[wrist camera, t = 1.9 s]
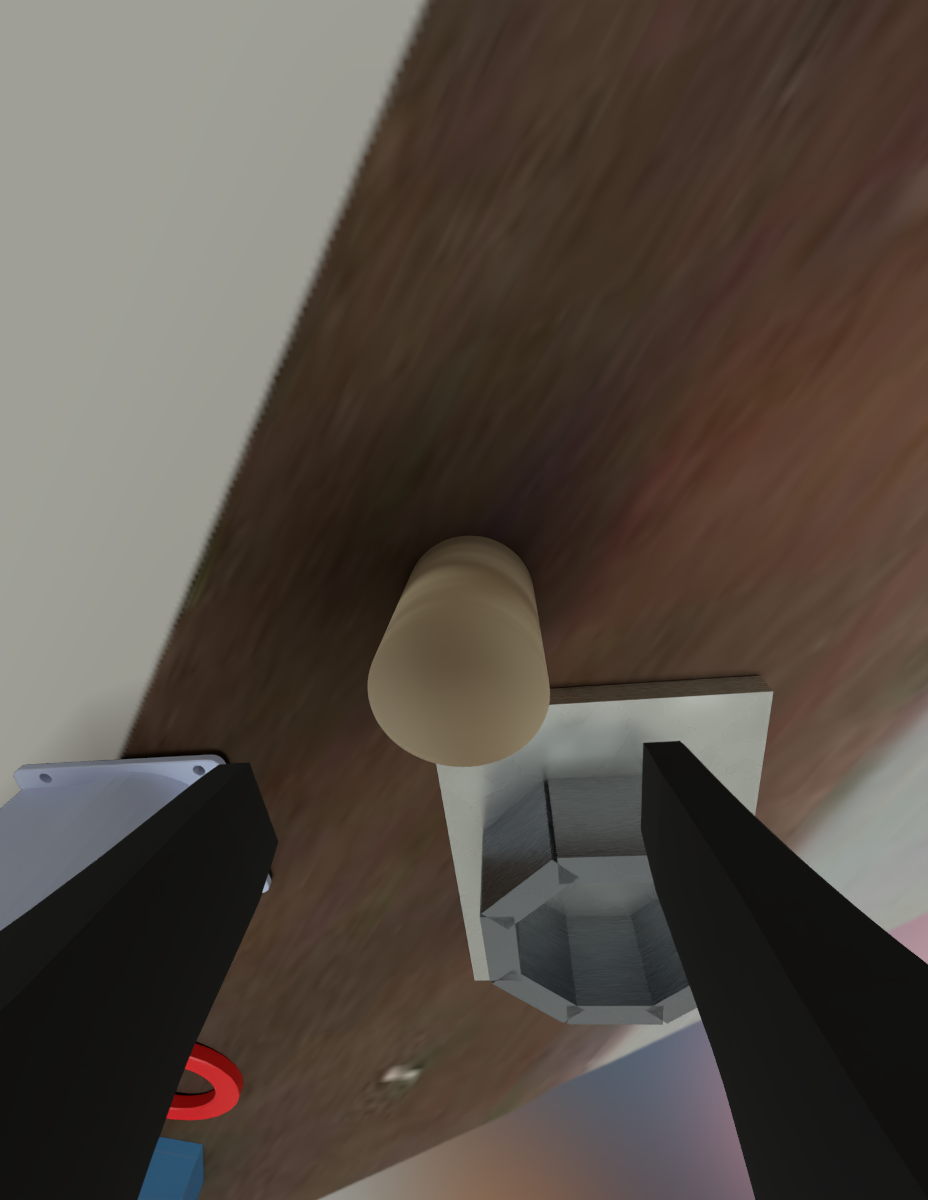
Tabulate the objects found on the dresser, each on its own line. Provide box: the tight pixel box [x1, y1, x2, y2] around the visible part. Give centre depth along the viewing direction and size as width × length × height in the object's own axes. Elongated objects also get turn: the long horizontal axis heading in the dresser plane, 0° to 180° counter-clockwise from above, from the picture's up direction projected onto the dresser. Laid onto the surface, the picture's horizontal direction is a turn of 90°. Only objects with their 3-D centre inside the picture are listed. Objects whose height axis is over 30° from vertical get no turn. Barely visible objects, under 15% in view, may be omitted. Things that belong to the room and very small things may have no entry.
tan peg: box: [368, 536, 550, 767], centre depth 15 cm, size 4×4×6 cm
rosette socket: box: [436, 675, 773, 1025], centre depth 20 cm, size 12×16×4 cm
